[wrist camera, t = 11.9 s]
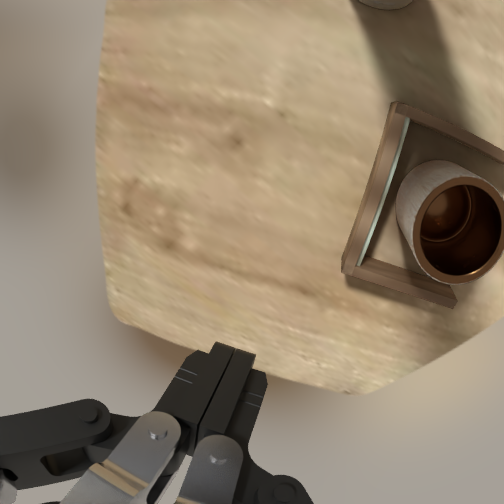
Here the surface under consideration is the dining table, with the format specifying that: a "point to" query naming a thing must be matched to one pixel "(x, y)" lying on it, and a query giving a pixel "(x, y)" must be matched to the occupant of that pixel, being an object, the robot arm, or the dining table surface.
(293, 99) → the dining table surface
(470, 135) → the bay
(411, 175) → the planter
